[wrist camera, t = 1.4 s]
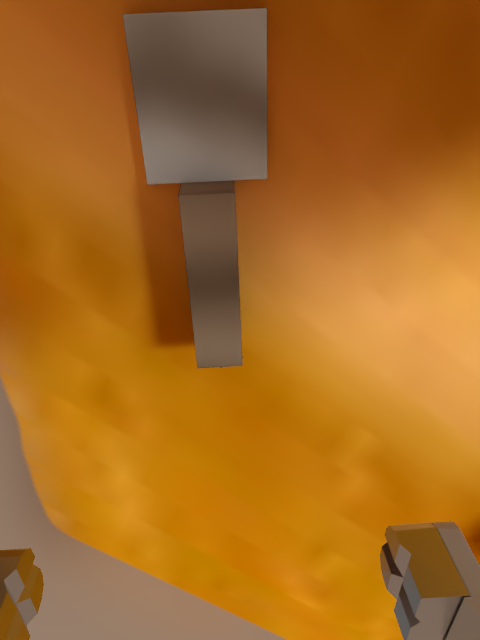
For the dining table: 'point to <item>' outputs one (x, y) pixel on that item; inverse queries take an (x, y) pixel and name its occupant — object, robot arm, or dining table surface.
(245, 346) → the dining table surface
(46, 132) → the dining table surface
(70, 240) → the dining table surface
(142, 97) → the turner
